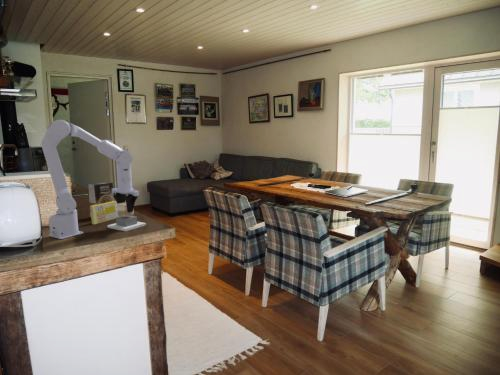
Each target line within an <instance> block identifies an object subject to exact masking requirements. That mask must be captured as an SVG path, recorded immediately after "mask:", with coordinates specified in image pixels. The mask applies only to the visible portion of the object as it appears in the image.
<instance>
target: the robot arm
mask: <svg viewBox="0 0 500 375" xmlns="http://www.w3.org/2000/svg"><path fill="white" fill-rule="evenodd" d="M66 137H74V138H79V139H81V140H82V141H85V142H87V143H89V144H91V145H92V146H94V147H96V149H97V151H98V152H99V153H100V154H102V155H104V156H105V157H107V158H109V159H111V160H114V161H115V163H116V181H117V187H113V189H112V193H113V197H114V201H116V202H117V204H119V203H124V202H126V204H127V211H128V212H133V208H134V209H135V204H136V201H137V199H138V198H139V196H140V191H139V190H136V189H135V188H133V180H132V179H133V178H132V177H133V176H132V175H133V174H132V161H133V156H132V154H131V153H130V151H127V150H125V149H123V148H124V147H123V146H118V145H116V144H114V143H113V140H111V139H108V140H107V139H99V138H98V137H96V136H95V135H93V134H91V133H90V132H89V131H86V130H85V129H83V128H82V127H80V126H78V125H75V124H73V123H71V122H68V121H67V120H64V119H57V120H54V121H52V122H51V123H50V124H49V125H48V126H47V128H46V130H45V132H44V135H43V138H42V140H41V142H40V143H41V144H40V146H41V148H42V152H43V155H44V159H45V162H46V165H47V168H48V172H49V174H50V178H51V181H52V184H53V188H54V191H55V196H56V197H55V198H56V199H55V204H56V206H57V208H58V209H57V210H56V211H55V214H52V215H51V216H49V219H48V224H49V225H48V226H49V237H52V238H55V239H58V240H64V239H67V238H70V237H75V236H78V235H82V234H84V231H82V230H81V231H80V230H79V221H78V210H77V209H76V208H77V202H76V200H75V199H74V197H73V196H72V194H71V191H70V188H69V185H68V183H67V179H66V175H65V172H64V168H63V166H62V162H61V159H60V155H59V152H58V149H57V146H58V145H59V144H60V142H61V141H62V140H63V139H65V138H66Z"/></svg>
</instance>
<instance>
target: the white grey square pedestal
mask: <svg viewBox="0 0 500 375" xmlns="http://www.w3.org/2000/svg"><path fill="white" fill-rule="evenodd" d="M115 221H116V222H115V223H111V224H108V225H107V229H112V230H117V231H121V232H129V231H131V230H135V229H138V228H143V227H146V226H147V223H146V222H141V221H138V216H137V215H136V216H135V215H131V216H127V217H123V216H122V217H118V218H116V219H115ZM145 225H146V226H145Z"/></svg>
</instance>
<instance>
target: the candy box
mask: <svg viewBox="0 0 500 375" xmlns="http://www.w3.org/2000/svg"><path fill="white" fill-rule="evenodd" d="M90 210H91V217H90V218H91V224H92V225H96V224H97V225H98V224H102V223H106V222H109V221H113V220H116V218H118V217H122V216H118V206H117V202H116V200H114V201H112V202H107V203H102V204H98V205H93V206H90V205H89V211H90Z"/></svg>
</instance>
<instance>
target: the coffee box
mask: <svg viewBox="0 0 500 375" xmlns="http://www.w3.org/2000/svg"><path fill="white" fill-rule="evenodd" d="M113 188H114V183H113V182H110V181H102V182H101V181H100V182H93V183H88V197H89V198H88V200H89V207H90V206H93V205H98V204H102V203H107V202H112V201H115V198H114V197H113V195H114V193H112V189H113ZM89 215H90V217H89V218H91V210H90V209H89Z"/></svg>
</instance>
